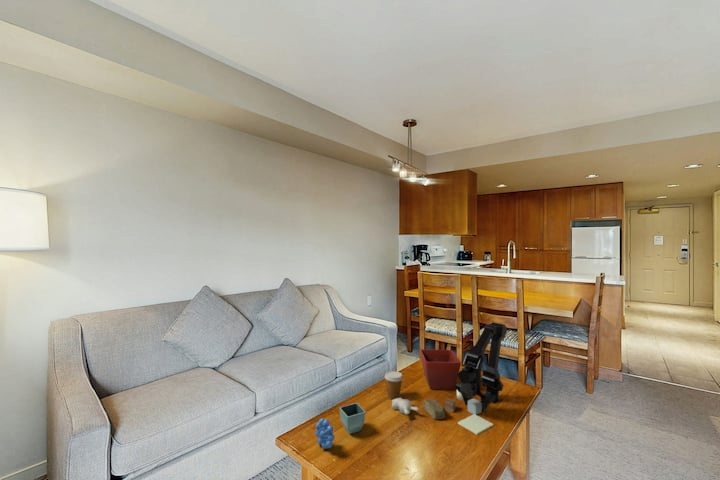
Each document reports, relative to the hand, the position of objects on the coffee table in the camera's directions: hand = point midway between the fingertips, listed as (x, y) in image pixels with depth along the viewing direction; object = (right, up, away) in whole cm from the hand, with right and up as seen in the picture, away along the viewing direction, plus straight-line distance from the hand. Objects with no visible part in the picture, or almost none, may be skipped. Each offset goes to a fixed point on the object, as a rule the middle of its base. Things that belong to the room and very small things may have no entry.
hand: (474, 409), depth 157 cm
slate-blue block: (0, -1, 0) cm, 1 cm away
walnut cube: (-11, -1, +2) cm, 11 cm away
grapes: (-69, -1, -27) cm, 74 cm away
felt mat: (-3, -1, -11) cm, 11 cm away
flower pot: (-59, -1, -15) cm, 61 cm away
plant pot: (-10, -1, +28) cm, 30 cm away
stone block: (-20, -1, -2) cm, 20 cm away
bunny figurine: (-34, -1, 0) cm, 34 cm away
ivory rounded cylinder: (-3, -1, +13) cm, 13 cm away
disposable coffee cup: (-38, -1, +14) cm, 40 cm away
